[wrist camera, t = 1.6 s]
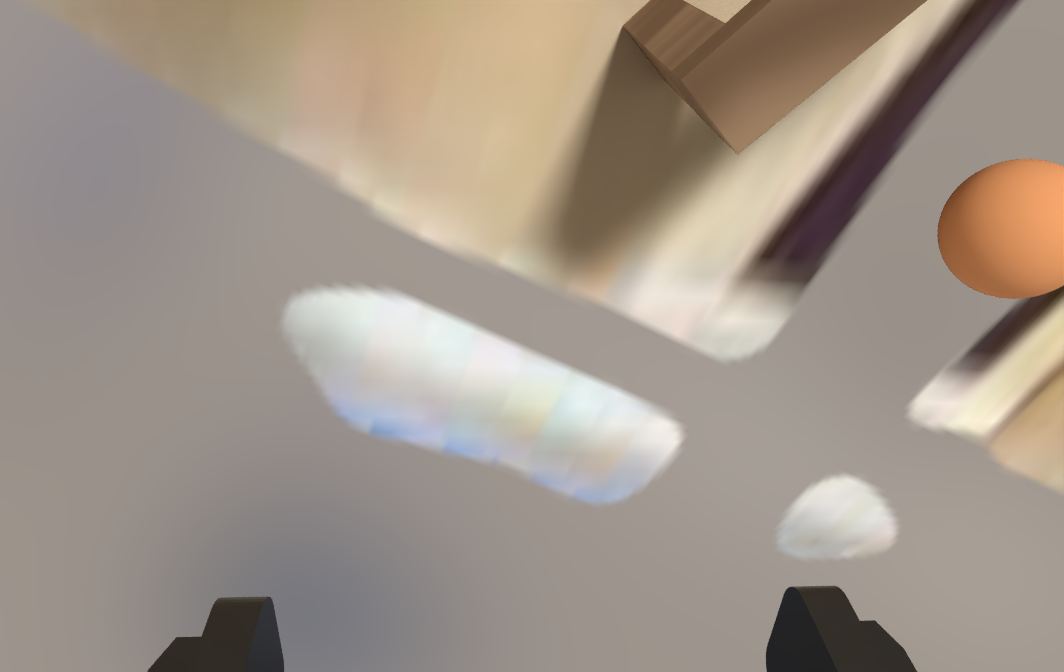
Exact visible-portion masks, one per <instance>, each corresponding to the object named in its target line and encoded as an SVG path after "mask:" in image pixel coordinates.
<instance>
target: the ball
mask: <svg viewBox="0 0 1064 672" xmlns="http://www.w3.org/2000/svg"><path fill="white" fill-rule="evenodd" d="M938 243H939V249H940V252H941V254H942V257H943V259H944V261H945V263H946V265H947V266H948V268H949V269H950V270H951V272H952V273H953V274H954V275H955V276H956V277H957V278H958V279H959V280H960V281H961V282H963V283H964V284H966V285H967V286H969V287H970V288H972V289H974V290H976V291H979V292H981V293H984V294H986V295H990V296H995V297H999V298H1011V299H1018V298H1028V297H1034V296H1038V295H1042V294H1045V293H1048V292H1050V291H1053V290H1055V289H1057V288H1059V287H1061V286H1063V285H1064V167H1063V166H1061V165H1058V164H1055V163H1052V162H1048V161H1043V160H1036V159H1016V160H1010V161H1005V162H1001V163H997V164H994V165H991V166H989V167H986V168H984V169H982V170H981V171H979V172H977V173H975V174H974V175H972V176H970V177H969V178H968V179H967V180H965V181H964V182H963V183H962V184H961V185H960V186H959V187H958V188H957V189H956V190H955V191H954V192H953V193H952V195H951V196H950V198H949V199H948V201H947V203H946V204H945V206H944V208H943V211H942V213H941V216H940V220H939V225H938Z"/></svg>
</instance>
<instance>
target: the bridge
mask: <svg viewBox="0 0 1064 672" xmlns="http://www.w3.org/2000/svg"><path fill="white" fill-rule="evenodd" d="M926 1H927V0H751V1H750V2H749V3H748V4H747V5H746V6H745V7H743V8H742V9H741V10H740V11H739V12H738V13H737V14H736V15H734V16H733V17H732V18H731V19H730V20H729V21H728V22H727V23H724V22H722V21H720V20H718V19H716V18H714V17H713V16H711V15H709V14H707V13H705V12H704V11H702V10H700V9H698V8H696V7H694V6H693V5H691V4H689V3H687V2H685V1H683V0H650V1H649V2H648V3H647V4H646V5H645V6H644V7H643V8H642V9H640V10H639V11H638V12H637V13H636V14H635V15H634V16H633V17H632V18H631V19H630V20H629V21H628V22H626V23H625V24H624V25H623V27H624V28H625V29H626V31H627V32H628V33H629V35H630V36H631V37H632V38H633V40H634V41H635V42H636V44H637V45H638V46H639V47H640V49H641V50H642V51H643V53H644V54H645V55H646V56H647V58H648V59H649V60H650V62H651V63H652V64H653V65H654V67H655V68H656V69H657V71H658V72H659V73H660V74H661V76H662V77H663V78H664V80H665V81H666V82H667V83H668V84H669V85H670V86H671V87H672V88H673V89H674V90H675V91H676V92H677V93H678V94H679V95H680V96H681V97H682V98H683V100H684V101H685V102H686V103H687V104H688V105H689V106H690V107H691V108H692V109H693V110H694V111H695V112H696V113H697V114H698V115H699V116H700V117H701V118H702V119H703V120H704V121H705V122H706V123H707V124H708V125H709V126H710V127H711V128H712V129H713V130H714V131H715V132H716V133H717V134H718V135H719V136H720V137H721V138H722V139H723V140H724V141H725V142H726V143H727V144H728V145H729V146H730V147H731V148H732V149H733V150H734V151H735V152H736V153H737V154H739V153H740V152H741V151H743V150H744V149H745V148H746V147H748V146H749V145H750V144H751V143H752V142H754V141H755V140H756V139H757V138H759V137H760V136H761V135H762V134H763V133H765V132H766V131H767V130H768V129H770V128H771V127H772V126H773V125H775V124H776V123H777V122H778V121H779V120H781V119H782V118H783V117H784V116H786V115H787V114H788V113H789V112H791V111H792V110H793V109H794V108H795V107H797V106H798V105H799V104H800V103H802V102H803V101H804V100H805V99H807V98H808V97H809V96H810V95H811V94H813V93H814V92H815V91H816V90H818V89H819V88H820V87H821V86H823V85H824V84H825V83H826V82H827V81H829V80H830V79H831V78H832V77H834V76H835V75H836V74H837V73H838V72H840V71H841V70H842V69H843V68H845V67H846V66H847V65H848V64H850V63H851V62H852V61H853V60H854V59H856V58H857V57H858V56H859V55H861V54H862V53H863V52H864V51H866V50H867V49H868V48H869V47H870V46H872V45H873V44H874V43H875V42H877V41H878V40H879V39H880V38H882V37H883V36H884V35H885V34H886V33H888V32H889V31H890V30H891V29H893V28H894V27H895V26H896V25H897V24H899V23H900V22H901V21H902V20H904V19H905V18H906V17H907V16H909V15H910V14H911V13H912V12H913V11H915V10H916V9H917V8H918V7H920V6H921V5H922V4H923V3H925V2H926Z"/></svg>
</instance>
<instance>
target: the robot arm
mask: <svg viewBox="0 0 1064 672" xmlns="http://www.w3.org/2000/svg"><path fill="white" fill-rule="evenodd" d="M766 668H767V672H917V671H916V669H915V667H914V665H913V664H912V662H911V660H910V659H909V657H908V655H907V653H906V652H905V650H904V649H903V647H901V646H900V645H899V644H898V643H897V642H896V641H895V640H894V639H893V638H892V637H891V636H890V635H889V634H888V633H887V632H886V631H885V630H884V629H883V628H882V627H881V626H880V625H879V624H878V623H877V622H876V621H859V619H858V617H857V615H856V613H855V611H854V610H853V608H852V606H851V604H850V602H849V600H848V598H847V597H846V595H845V593H844V592H843V591H842V590H841V589H840V588H839V587H837V586H805V587H803V586H802V587H789V588H788V589H787V590H786V591H785V593H784V596H783V599H782V602H781V605H780V608H779V611H778V615H777V618H776V621H775V624H774V627H773V630H772V633H771V636H770V639H769V642H768V646H767V651H766ZM148 672H284V660H283V654H282V649H281V643H280V638H279V632H278V627H277V621H276V616H275V610H274V605H273V601H272V599H271V597H239V598H238V597H236V598H219V599H217V600H216V602H215V603H214V605H213V607H212V610H211V612H210V615H209V618H208V621H207V623H206V626H205V629H204V631H203V634H202V637H177V638H175V640H174V641H173V642H172V643H171V644H170V646H169V647H168V648H167V649H166V650H165V651H164V652H163V653H162V655H161V656H160V657H159V658H158V659H157V660H156V662H155V663H154V664H153V665H152V666H151V668H150V669H149V670H148Z"/></svg>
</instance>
